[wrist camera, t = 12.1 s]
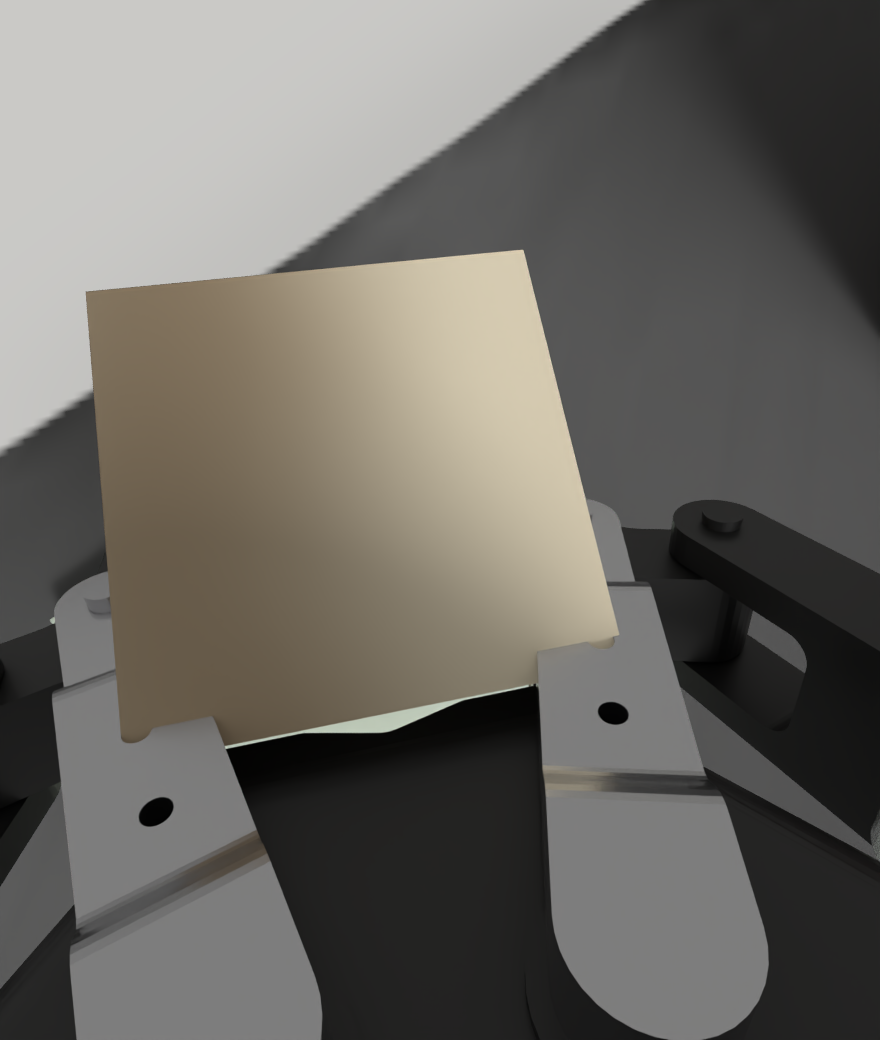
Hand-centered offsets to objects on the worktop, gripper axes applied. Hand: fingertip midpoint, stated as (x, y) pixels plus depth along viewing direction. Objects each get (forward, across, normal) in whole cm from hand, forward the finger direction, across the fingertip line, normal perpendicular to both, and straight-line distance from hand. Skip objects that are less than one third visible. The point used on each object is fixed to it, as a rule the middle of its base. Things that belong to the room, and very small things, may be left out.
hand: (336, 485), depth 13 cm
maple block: (+2, 0, +5) cm, 5 cm away
